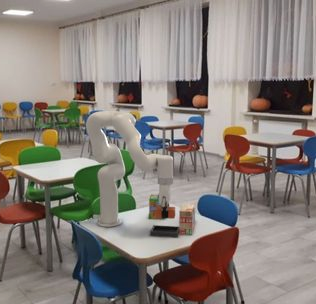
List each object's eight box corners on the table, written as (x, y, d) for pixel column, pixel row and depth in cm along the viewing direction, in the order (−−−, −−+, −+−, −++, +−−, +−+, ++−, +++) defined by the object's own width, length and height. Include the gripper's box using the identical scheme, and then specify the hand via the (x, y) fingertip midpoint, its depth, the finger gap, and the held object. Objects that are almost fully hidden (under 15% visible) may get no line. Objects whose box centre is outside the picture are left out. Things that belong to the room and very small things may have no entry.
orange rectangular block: (156, 217, 208) (155, 209, 207) (157, 214, 212) (157, 206, 212) (174, 218, 206) (174, 209, 205) (175, 215, 211) (175, 206, 210)
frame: (150, 235, 207) (150, 231, 207) (153, 229, 217) (153, 225, 216) (177, 237, 205) (177, 233, 204) (179, 230, 214) (179, 226, 214)
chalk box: (150, 213, 241) (150, 188, 239) (166, 214, 240) (166, 189, 238) (148, 218, 232) (148, 192, 230) (165, 219, 231) (165, 193, 229)
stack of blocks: (183, 220, 230) (183, 198, 227) (195, 221, 228) (195, 199, 226) (179, 234, 209) (179, 210, 207) (191, 235, 208) (192, 211, 206)
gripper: (160, 176, 215) (160, 210, 218) (155, 184, 199) (155, 221, 202) (174, 177, 214) (175, 211, 217) (170, 185, 197) (171, 222, 200)
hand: (165, 215), depth 209 cm, fingers closed on orange rectangular block, 5 cm apart
